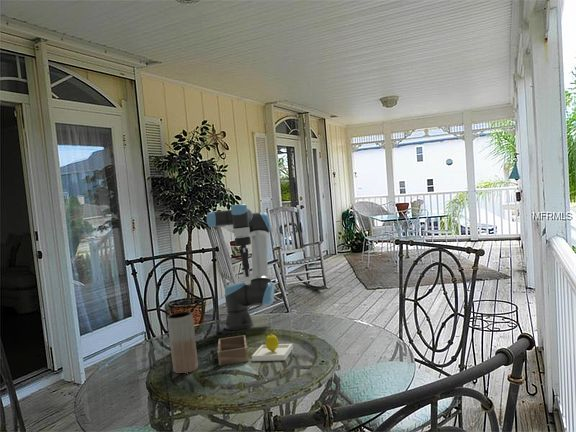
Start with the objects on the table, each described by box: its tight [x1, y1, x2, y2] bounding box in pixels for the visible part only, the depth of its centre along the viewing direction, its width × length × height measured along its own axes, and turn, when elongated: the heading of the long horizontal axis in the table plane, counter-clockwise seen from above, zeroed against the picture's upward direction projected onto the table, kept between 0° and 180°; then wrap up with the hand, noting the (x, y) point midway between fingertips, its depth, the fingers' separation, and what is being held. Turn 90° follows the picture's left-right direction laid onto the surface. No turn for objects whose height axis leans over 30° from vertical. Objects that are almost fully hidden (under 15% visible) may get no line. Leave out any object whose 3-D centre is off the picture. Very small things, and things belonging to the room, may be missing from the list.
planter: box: [166, 311, 199, 374], centre depth 179 cm, size 10×10×23 cm
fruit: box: [264, 332, 279, 352], centre depth 186 cm, size 6×6×8 cm
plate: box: [251, 343, 294, 362], centre depth 186 cm, size 14×14×2 cm
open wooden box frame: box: [217, 334, 249, 366], centre depth 190 cm, size 20×12×6 cm, turn 8°
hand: (247, 281), depth 208 cm, fingers open, 13 cm apart
